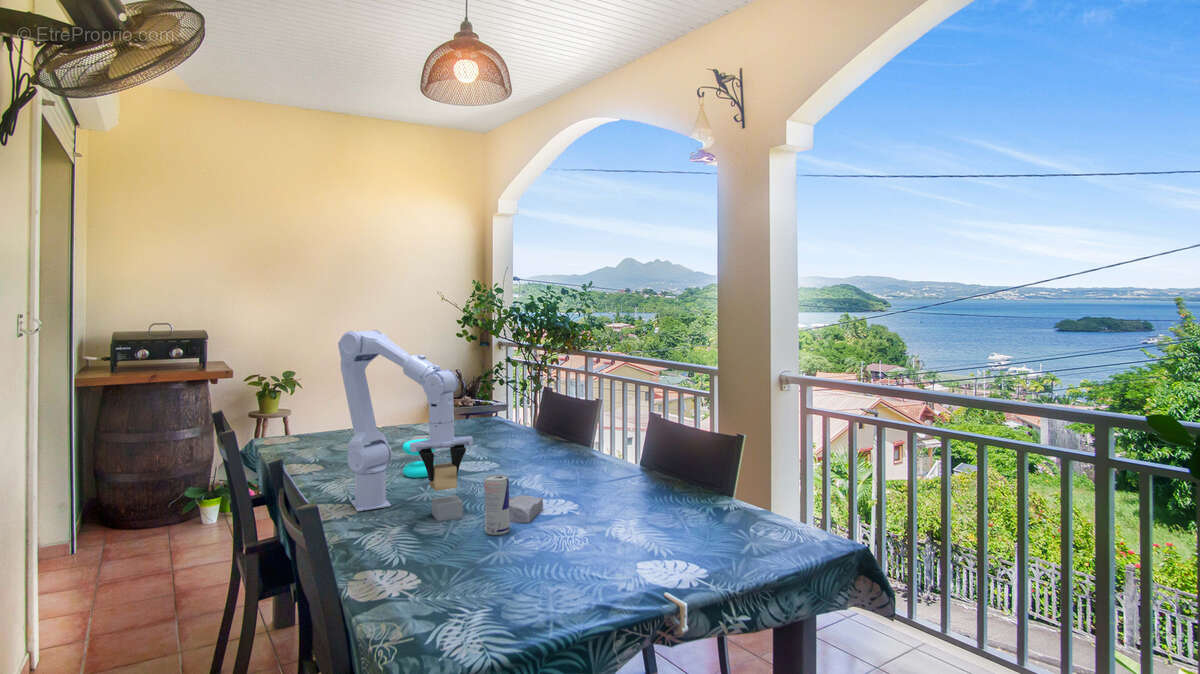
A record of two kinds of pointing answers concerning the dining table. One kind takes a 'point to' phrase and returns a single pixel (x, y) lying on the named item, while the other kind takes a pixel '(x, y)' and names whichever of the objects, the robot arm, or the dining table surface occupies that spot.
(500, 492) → the energy drink
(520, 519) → the stone block
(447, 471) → the wooden cube
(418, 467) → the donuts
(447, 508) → the grey block
